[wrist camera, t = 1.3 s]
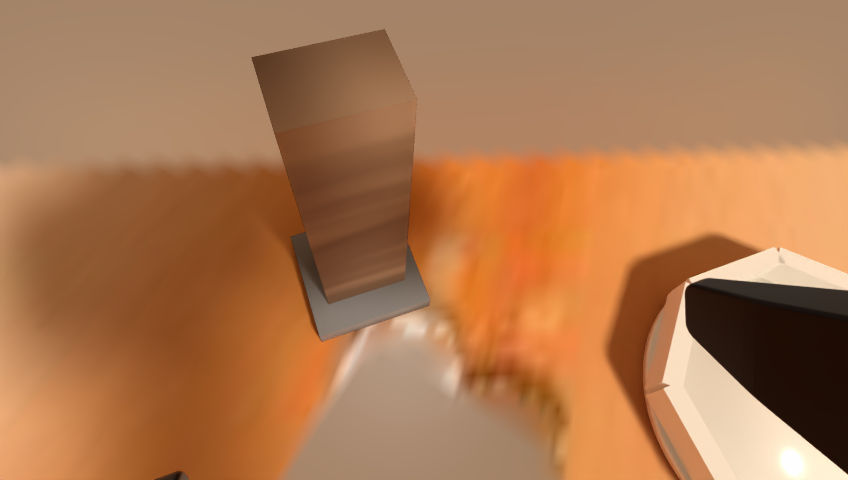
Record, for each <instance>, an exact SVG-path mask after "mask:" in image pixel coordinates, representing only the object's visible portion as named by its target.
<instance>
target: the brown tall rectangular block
mask: <svg viewBox="0 0 848 480" xmlns="http://www.w3.org/2000/svg"><path fill="white" fill-rule="evenodd" d="M252 61H253V64H254V67H255V71H256V74H257V77H258V81H259V84H260V87H261V91H262V94H263V97H264V100H265V103H266V107H267V110H268V114H269V117H270V120H271V123H272V127H273V130H274V134H275V137H276V140H277V143H278V146H279V149H280V152H281V156H282V159H283V162H284V165H285V168H286V171H287V175H288V178H289V181H290V184H291V187H292V190H293V193H294V197H295V200H296V203H297V206H298V209H299V212H300V215H301V219H302V222H303V225H304V228H305V231H306V232H304V233H301V234H297V235H294V236H291V240H292V243H293V247H294V250H295V254H296V257H297V260H298V264H299V267H300V271H301V274H302V278H303V281H304V285H305V288H306V292H307V295H308V299H309V302H310V305H311V309H312V312H313V316H314V319H315V323H316V326H317V330H318V333H319V337H320V339H321V341H325V340H328V339H331V338H334V337H337V336H340V335H343V334H346V333H349V332H352V331H355V330H358V329H361V328H364V327H367V326H370V325H373V324H376V323H379V322H382V321H385V320H388V319H391V318H394V317H397V316H400V315H403V314H406V313H409V312H412V311H415V310H418V309H421V308H424V307H427V306H429V303H430V298H429V295H428V293H427V290H426V288H425V285H424V283H423V280H422V278H421V275H420V273H419V270H418V268H417V265H416V263H415V260H414V258H413V255H412V252H411V250H410V247H409V245H408V242H407V239H408V225H409V210H410V196H411V181H412V166H413V152H414V136H415V121H416V108H417V107H416V106H417V98H416V95H415V93H414V91H413V89H412V87H411V85H410V83H409V80H408V78H407V76H406V74H405V72H404V70H403V68H402V65H401V63H400V61H399V59H398V57H397V55H396V52H395V50H394V48H393V46H392V44H391V42H390V40H389V37H388V35H387V33H386V31H385V29H383V30H379V31H374V32H369V33H364V34H360V35H355V36H350V37H346V38H341V39H336V40H332V41H327V42H322V43H317V44H312V45H308V46H303V47H298V48H293V49H289V50H284V51H279V52H275V53H270V54H266V55H261V56H256V57H252Z"/></svg>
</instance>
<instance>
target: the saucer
mask: <svg viewBox="0 0 848 480" xmlns="http://www.w3.org/2000/svg"><path fill="white" fill-rule="evenodd" d="M705 278H717V279H728V280H739V281H750V282H761V283H772V284H783V285H794V286H805V287H816V288H827V289H838V290H848V274H847V273H844V272H841V271H839V270H836V269H834V268H831V267H829V266H826V265H824V264H821V263H819V262H816V261H814V260H811V259H809V258H806V257H804V256H801V255H799V254H796V253H794V252H791V251H788V250H786V249H783V248H781V247H780V248H778V249H776V248H775V247H773V248H770V249H768V250H765V251H762V252H759V253H757V254H754V255H751V256H748V257H746V258H743V259H740V260H737V261H735V262H732V263H729V264H726V265H724V266H721V267H718V268H715V269H713V270H710V271H707V272H705V273H702V274H699V275H696V276H694V277H691V278H688V279H687V280H686V281H684V282H683V283H682V284H680V285H679V286H678V287H676V288H675V289H673V290H672V291H671V293H670V294H668V296H667V300H666V304H665V305H664V306H663V308H662V309H661V310H660V312H659V313H658V315H657V317H656V319H655V320H654V322H653V324H652V326H651V329H650V332H649V335H648V338H647V341H646V345H645V351H644V356H643V374H642V378H643V389H644V397H645V402H646V406H647V411H648V415H649V418H650V421H651V424H652V427H653V430H654V433H655V436H656V438H657V440H658V442H659V445H660V447H661V449H662V451H663V453H664V455H665V457H666V459H667V460H668V462H669V464H670V465H671V467H672V469H673V470H674V472H675V474H676V475H677V477H678V478H679V479H680V480H848V475H847V474H846V473H845V472H844V471H843V470H841V469H840V468H839V467H838V466H836V465H835V464H834V463H833V462H832V461H830V460H829V459H828V458H827V457H826V456H824V455H823V454H822V453H821V452H819V451H818V450H817V449H816V448H815V447H813V446H812V445H811V444H810V443H809V442H807V441H806V440H805V439H804V438H802V437H801V436H800V435H799V434H798V433H796V432H795V431H794V430H793V429H792V428H790V427H789V426H788V425H787V424H786V423H784V422H783V421H782V420H781V419H779V418H778V417H777V416H776V415H775V414H773V413H772V412H771V411H770V410H769V409H767V408H766V407H765V406H764V405H763V404H761V403H760V402H759V401H758V400H757V399H756V398H754V397H753V396H752V395H751V394H750V393H749V392H748V391H747V390H746V389H745V388H744V387H743V386H742V385H741V384H740V383H739V382H738V381H737V380H735V379H734V378H733V377H732V376H731V375H730V374H729V373H728V372H727V371H726V370H725V369H724V368H723V367H722V366H721V365H720V364H719V363H718V362H717V361H716V360H715V359H714V358H713V357H712V356H711V355H710V354H709V353H708V352H707V351H706V350H705V349H704V348H703V347H702V346H701V345H700V344H699V343H698V342H697V341H696V340H695V339H694V338H693V337H692V336H691V335H690V333H689V332H688V329H687V327H686V322H685V289H686V287H687V286H688V285H689V284H691V283H694V282H696V281H699V280H702V279H705Z"/></svg>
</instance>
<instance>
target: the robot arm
mask: <svg viewBox="0 0 848 480" xmlns="http://www.w3.org/2000/svg"><path fill="white" fill-rule="evenodd" d="M685 322H686V327H687V329H688V332H689V333H690V335H691V336H692V337H693V338H694V339H695V340H696V341H697V342H698V343H699V344H700V345H701V346H702V347H703V348H704V349H705V350H706V351H707V352H708V353H709V354H710V355H711V356H712V357H713V358H714V359H715V360H716V361H717V362H718V363H719V364H720V365H721V366H722V367H723V368H724V369H725V370H726V371H727V372H728V373H729V374H730V375H731V376H732V377H733V378H734V379H735V380H737V381H738V382H739V383H740V384H741V385H742V386H743V387H744V388H745V389H746V390H747V391H748V392H749V393H750V394H751V395H752V396H753V397H754V398H756V399H757V400H758V401H759V402H760V403H761V404H763V405H764V406H765V407H766V408H767V409H769V410H770V411H771V412H772V413H773V414H775V415H776V416H777V417H778V418H779V419H781V420H782V421H783V422H784V423H786V424H787V425H788V426H789V427H790V428H792V429H793V430H794V431H795V432H796V433H798V434H799V435H800V436H801V437H802V438H804V439H805V440H806V441H807V442H809V443H810V444H811V445H812V446H813V447H815V448H816V449H817V450H818V451H819V452H821V453H822V454H823V455H824V456H826V457H827V458H828V459H829V460H830V461H832V462H833V463H834V464H835V465H836V466H838V467H839V468H840V469H841V470H843V471H844V472H845V473H846V474H847V475H848V290H838V289H827V288H816V287H805V286H794V285H783V284H772V283H761V282H750V281H739V280H728V279H717V278H705V279H702V280H699V281H696V282H694V283H691V284H689V285H688V286H687V287H686V289H685ZM155 480H189V478H188V476H187V475H186V474H185V473H184V472H182V471H176V472H174V473H171V474H168V475H165V476H163V477H160V478H157V479H155Z"/></svg>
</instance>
